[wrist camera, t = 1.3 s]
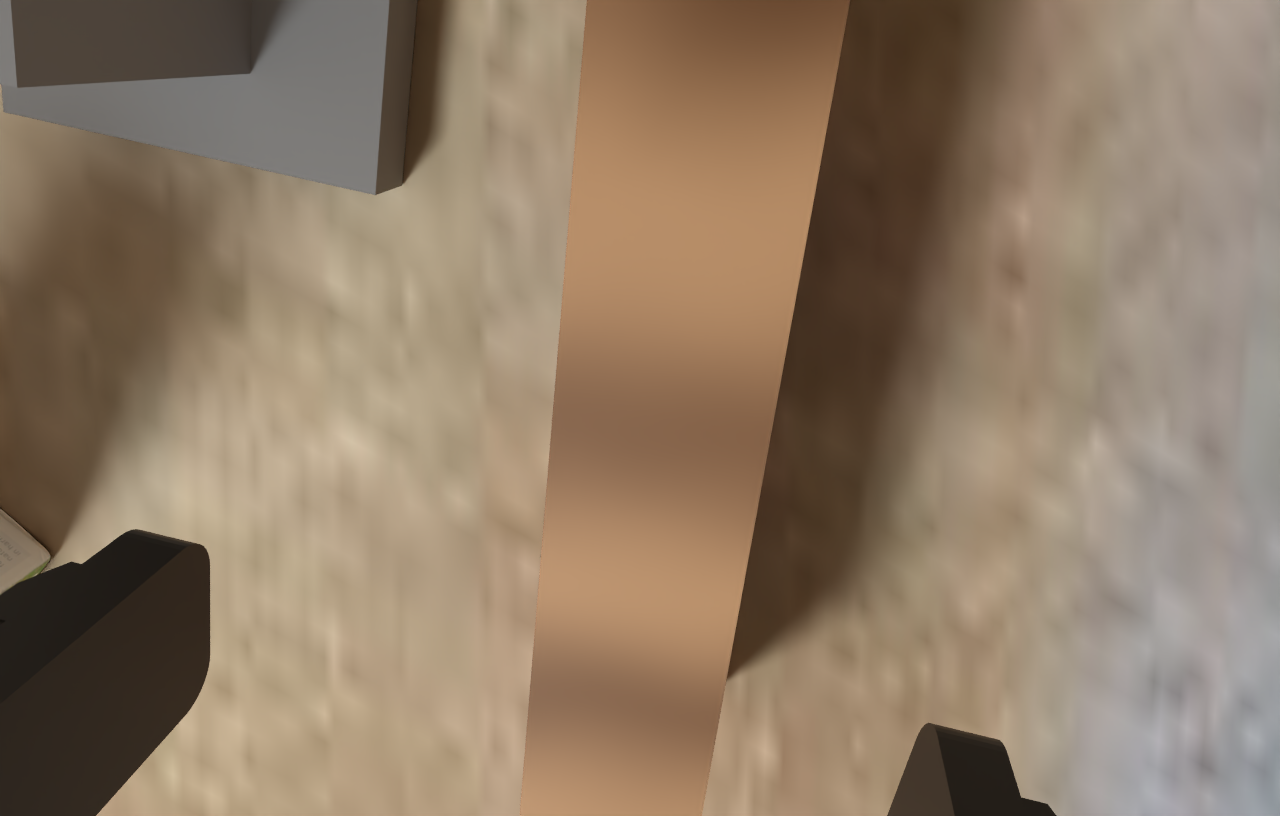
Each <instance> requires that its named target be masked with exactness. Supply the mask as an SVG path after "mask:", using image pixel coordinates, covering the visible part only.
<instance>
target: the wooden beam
mask: <svg viewBox="0 0 1280 816" xmlns="http://www.w3.org/2000/svg"><path fill="white" fill-rule="evenodd" d="M849 4H850V0H587V6H586V18H585V30H584V42H583V55H582V67H581V79H580V91H579V103H578V115H577V127H576V139H575V151H574V163H573V176H572V188H571V200H570V212H569V224H568V236H567V248H566V260H565V272H564V284H563V297H562V309H561V321H560V333H559V345H558V357H557V369H556V381H555V393H554V405H553V418H552V430H551V442H550V454H549V466H548V478H547V490H546V502H545V514H544V526H543V539H542V551H541V563H540V575H539V587H538V599H537V611H536V623H535V635H534V647H533V660H532V672H531V684H530V696H529V708H528V720H527V732H526V744H525V756H524V768H523V781H522V793H521V805H520V815H521V816H702V811H703V805H704V800H705V794H706V789H707V783H708V778H709V772H710V767H711V761H712V756H713V751H714V745H715V740H716V734H717V729H718V723H719V718H720V712H721V707H722V701H723V696H724V690H725V685H726V679H727V674H728V668H729V663H730V657H731V652H732V646H733V641H734V635H735V630H736V624H737V619H738V613H739V608H740V602H741V597H742V591H743V586H744V580H745V575H746V569H747V564H748V559H749V553H750V548H751V542H752V537H753V531H754V526H755V520H756V515H757V509H758V504H759V498H760V493H761V487H762V482H763V476H764V471H765V465H766V460H767V454H768V449H769V443H770V438H771V432H772V427H773V421H774V416H775V410H776V405H777V399H778V394H779V388H780V383H781V377H782V372H783V367H784V361H785V356H786V350H787V345H788V339H789V334H790V328H791V323H792V317H793V312H794V306H795V301H796V295H797V290H798V284H799V279H800V273H801V268H802V262H803V257H804V251H805V246H806V240H807V235H808V229H809V224H810V218H811V213H812V207H813V202H814V196H815V191H816V185H817V180H818V175H819V169H820V164H821V158H822V153H823V147H824V142H825V136H826V131H827V125H828V120H829V114H830V109H831V103H832V98H833V92H834V87H835V81H836V76H837V70H838V65H839V59H840V54H841V48H842V43H843V37H844V32H845V26H846V21H847V15H848V10H849Z"/></svg>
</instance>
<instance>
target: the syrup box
mask: <svg viewBox="0 0 1280 816" xmlns="http://www.w3.org/2000/svg"><path fill="white" fill-rule="evenodd" d="M49 560H50V554H49V552H48V551H47V550H46V549H45V548H44V547H43V546H42V545H41V544H40V543H39V542H38V541H36V540H35V539H34V538H33V537H32V536H31V535H30V534H29V533H28V532H27V531H26V530H24V529H23V528H22V527H21V526H20V525H19V524H18V523H17V522H16V521H14V520H13V519H12V518H11V517H10V516H9V515H7V514H6V513H5V512H4V511H3V510H1V509H0V595H1V594H3V593H4V592H5V591H7V590H8V589H10V588H11V587H12V586H14V585H15V584H17V583H19V582H21V581H24V580H26V579H29V578H31V577H34V576H36V575H38V574H39V573H40V572H41V571H42V570H43V568H44V567H45V566H46V564H47V563H48V562H49Z"/></svg>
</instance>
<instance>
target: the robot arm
mask: <svg viewBox="0 0 1280 816" xmlns="http://www.w3.org/2000/svg"><path fill="white" fill-rule="evenodd" d="M209 661H210V560H209V555H208V552H207V550H206V549H205V547H204V546H202V545H200V544H196V543H192V542H188V541H184V540H180V539H176V538H171V537H167V536H163V535H159V534H155V533H151V532H147V531H143V530H137V529H135V530H130V531H128V532H125V533H124V534H122V535H121V536H119V537H118V538H117V539H115V540H114V541H113V542H111V543H110V544H109V545H107V546H106V547H105V548H103V549H102V550H101V551H99V552H98V553H96V554H95V555H94V556H92V557H91V558H90V559H88V560H87V561H86V562H84V563H83V564H78V563H74V562H70V563H67V564H64V565H62V566H59V567H57V568H54V569H52V570H49V571H47V572H44V573H42V574H39V575H36V576H34V577H31V578H29V579H26V580H24V581H21V582H19V583H17V584H15V585H14V586H12V587H11V588H10V589H8V590H7V591H5V592H4V593H3V594H1V595H0V816H96V815H97V814H98V813H99V812H100V810H101V809H102V808H103V807H104V806H105V805H106V804H107V803H108V802H109V800H110V799H111V798H112V797H113V796H114V795H115V794H116V793H117V791H118V790H119V789H120V788H121V787H122V786H123V785H124V784H125V782H126V781H127V780H128V779H129V778H130V777H131V776H132V775H133V773H134V772H135V771H136V770H137V769H138V768H139V767H140V766H141V764H142V763H143V762H144V761H145V760H146V759H147V758H148V757H149V756H150V754H151V753H152V752H153V751H154V750H155V749H156V748H157V747H158V745H159V744H160V743H161V742H162V741H163V740H164V739H165V738H166V736H167V735H168V734H169V733H170V732H171V731H172V730H173V729H174V727H175V726H176V725H177V724H178V723H179V722H180V721H181V720H182V718H183V717H184V716H185V715H186V714H187V713H188V711H189V710H190V709H191V707H192V706H193V704H194V702H195V701H196V699H197V697H198V695H199V693H200V691H201V689H202V686H203V684H204V681H205V678H206V675H207V671H208V667H209ZM887 816H1056V815H1055V813H1054V812H1053V811H1052V809H1051V808H1050V807H1049V805H1048V804H1045V803H1041V802H1037V801H1033V800H1029V799H1025V798H1021V796H1020V793H1019V789H1018V786H1017V783H1016V780H1015V776H1014V773H1013V770H1012V767H1011V764H1010V760H1009V757H1008V754H1007V751H1006V749H1005V746H1004V745H1003V743H1002V742H1001V741H1000V740H997V739H993V738H989V737H985V736H981V735H977V734H973V733H968V732H964V731H960V730H956V729H952V728H948V727H944V726H940V725H935V724H931V723H927V724H925V725H924V726H923V727H922V729H921V730H920V732H919V734H918V736H917V739H916V741H915V744H914V746H913V749H912V752H911V754H910V757H909V760H908V762H907V765H906V768H905V770H904V773H903V776H902V778H901V781H900V783H899V786H898V789H897V791H896V794H895V797H894V799H893V802H892V805H891V807H890V810H889V813H888V815H887Z"/></svg>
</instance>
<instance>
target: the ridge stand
mask: <svg viewBox="0 0 1280 816" xmlns="http://www.w3.org/2000/svg"><path fill="white" fill-rule="evenodd" d="M416 12H417V0H0V84H1V85H2V97H3V109H4V112H6V113H10V114H15V115H19V116H24V117H28V118H33V119H37V120H42V121H46V122H51V123H55V124H60V125H64V126H69V127H73V128H78V129H82V130H86V131H91V132H95V133H100V134H104V135H109V136H113V137H118V138H122V139H127V140H131V141H136V142H140V143H145V144H149V145H154V146H158V147H163V148H167V149H172V150H176V151H181V152H185V153H190V154H194V155H198V156H203V157H207V158H212V159H216V160H221V161H225V162H230V163H234V164H239V165H243V166H248V167H252V168H257V169H261V170H266V171H270V172H275V173H279V174H284V175H288V176H293V177H297V178H301V179H306V180H310V181H315V182H319V183H324V184H328V185H333V186H337V187H342V188H346V189H351V190H355V191H360V192H364V193H369V194H373V195H377V194H379V193H382V192H385V191H388V190H391V189H393V188H396V187H399V186H402V180H403V168H404V156H405V144H406V132H407V120H408V108H409V96H410V84H411V72H412V60H413V48H414V36H415V24H416Z"/></svg>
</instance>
